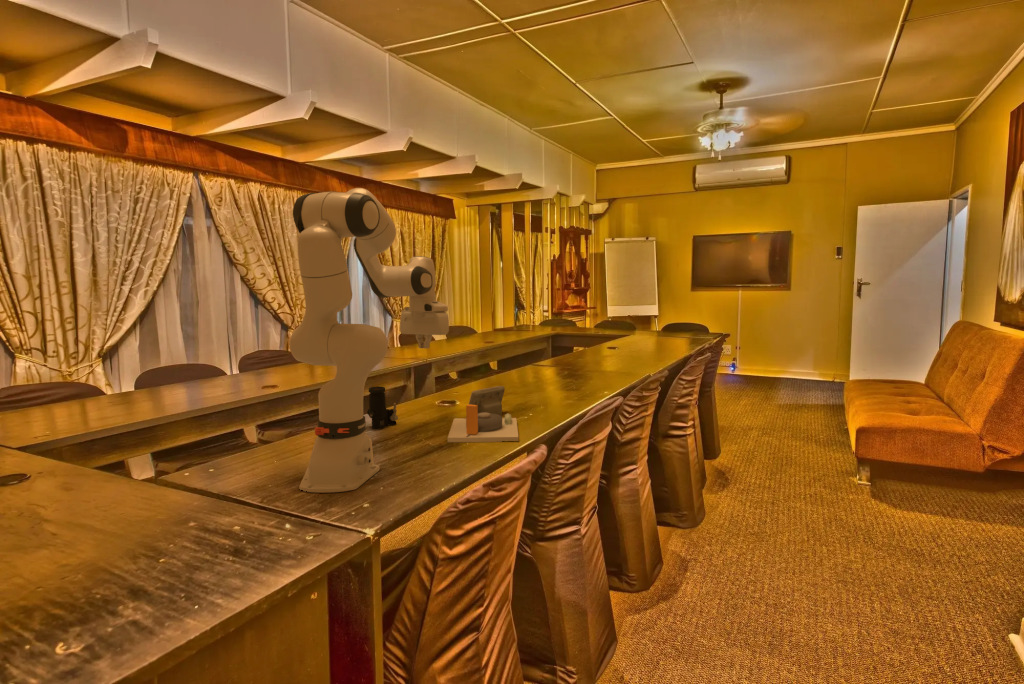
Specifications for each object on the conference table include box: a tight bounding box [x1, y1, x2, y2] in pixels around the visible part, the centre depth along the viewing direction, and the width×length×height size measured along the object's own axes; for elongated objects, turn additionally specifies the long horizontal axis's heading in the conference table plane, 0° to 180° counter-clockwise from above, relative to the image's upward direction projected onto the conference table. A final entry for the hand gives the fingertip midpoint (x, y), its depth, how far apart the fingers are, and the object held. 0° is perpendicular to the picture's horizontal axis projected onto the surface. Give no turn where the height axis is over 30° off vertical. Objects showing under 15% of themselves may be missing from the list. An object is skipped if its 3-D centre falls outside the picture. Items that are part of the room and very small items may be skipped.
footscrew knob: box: [465, 403, 503, 434], centre depth 179 cm, size 16×12×9 cm
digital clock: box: [468, 385, 506, 416], centre depth 203 cm, size 16×9×11 cm, turn 124°
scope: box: [367, 386, 399, 430], centre depth 187 cm, size 8×14×10 cm
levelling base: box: [447, 412, 519, 443], centre depth 181 cm, size 24×22×4 cm
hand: (424, 348), depth 181 cm, fingers closed
